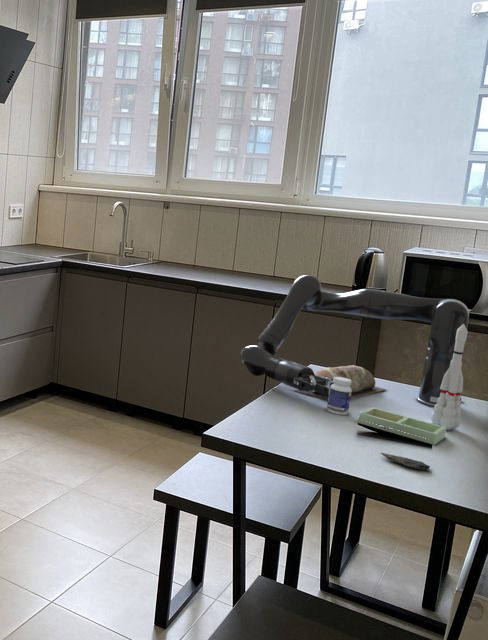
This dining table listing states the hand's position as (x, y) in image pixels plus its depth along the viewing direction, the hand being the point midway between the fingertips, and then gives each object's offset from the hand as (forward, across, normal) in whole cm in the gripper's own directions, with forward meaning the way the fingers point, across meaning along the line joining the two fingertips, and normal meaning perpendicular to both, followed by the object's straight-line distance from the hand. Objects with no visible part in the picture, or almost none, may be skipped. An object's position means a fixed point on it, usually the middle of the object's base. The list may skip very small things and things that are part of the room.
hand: (338, 391), depth 215 cm
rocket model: (+18, -22, -6) cm, 29 cm away
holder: (+17, -6, -6) cm, 19 cm away
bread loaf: (-16, -22, -6) cm, 28 cm away
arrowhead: (+35, +18, -6) cm, 40 cm away
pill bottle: (+1, 0, -6) cm, 6 cm away
